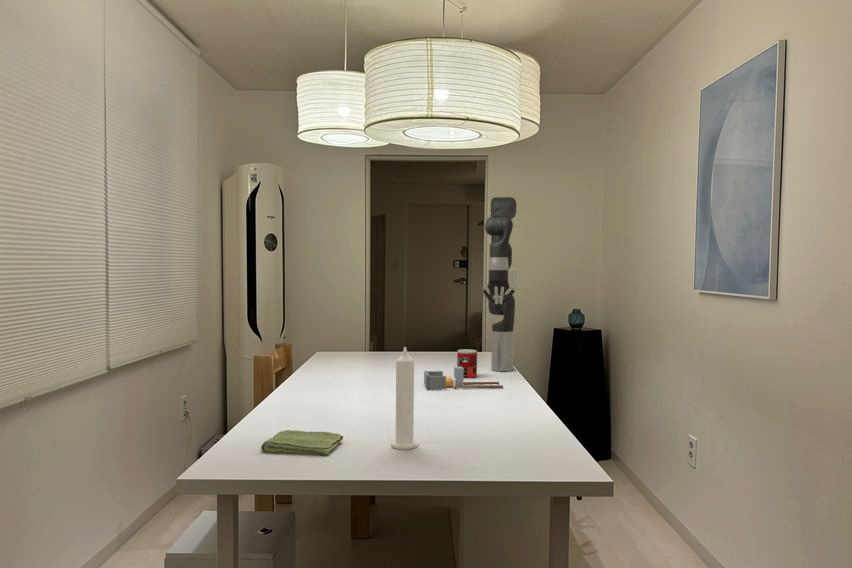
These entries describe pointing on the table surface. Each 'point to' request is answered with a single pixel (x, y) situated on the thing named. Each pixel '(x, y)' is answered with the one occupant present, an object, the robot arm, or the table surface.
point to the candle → (404, 403)
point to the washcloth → (302, 442)
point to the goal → (434, 380)
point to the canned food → (467, 362)
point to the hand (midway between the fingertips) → (497, 313)
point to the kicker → (457, 377)
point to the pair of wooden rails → (479, 386)
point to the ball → (448, 381)
